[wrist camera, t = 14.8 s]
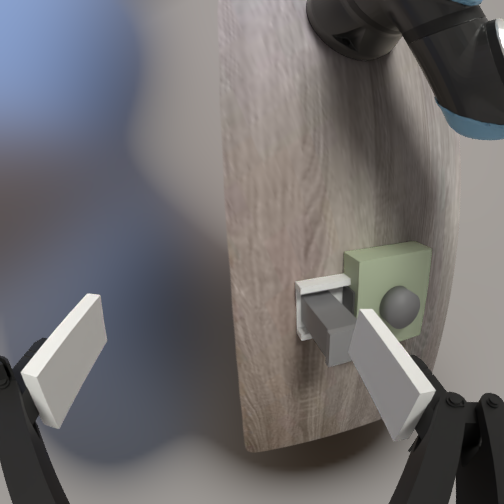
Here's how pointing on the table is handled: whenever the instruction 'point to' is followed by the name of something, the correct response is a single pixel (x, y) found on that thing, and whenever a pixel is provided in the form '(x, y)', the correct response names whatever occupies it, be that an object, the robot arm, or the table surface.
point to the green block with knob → (378, 286)
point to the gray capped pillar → (328, 325)
